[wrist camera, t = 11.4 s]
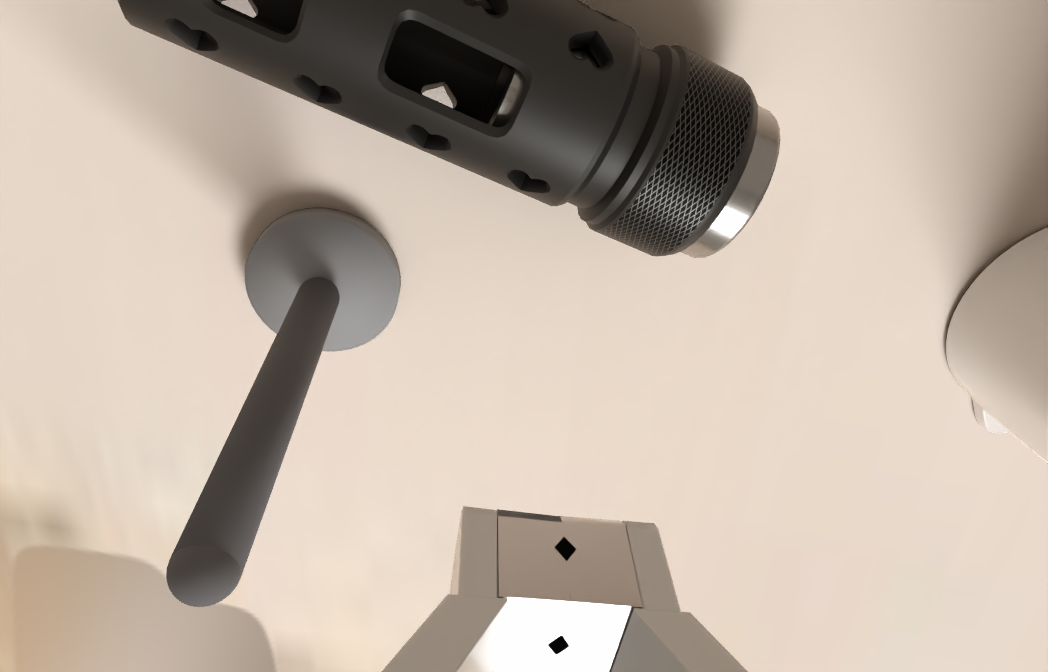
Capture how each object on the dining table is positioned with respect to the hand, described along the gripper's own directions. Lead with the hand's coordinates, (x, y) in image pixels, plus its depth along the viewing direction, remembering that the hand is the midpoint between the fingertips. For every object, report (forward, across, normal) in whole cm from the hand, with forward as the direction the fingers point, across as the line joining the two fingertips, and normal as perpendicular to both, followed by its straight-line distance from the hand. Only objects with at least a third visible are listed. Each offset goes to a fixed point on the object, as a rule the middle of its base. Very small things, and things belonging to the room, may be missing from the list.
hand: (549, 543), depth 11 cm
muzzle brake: (+33, +2, -2) cm, 33 cm away
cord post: (+32, +10, +13) cm, 36 cm away
